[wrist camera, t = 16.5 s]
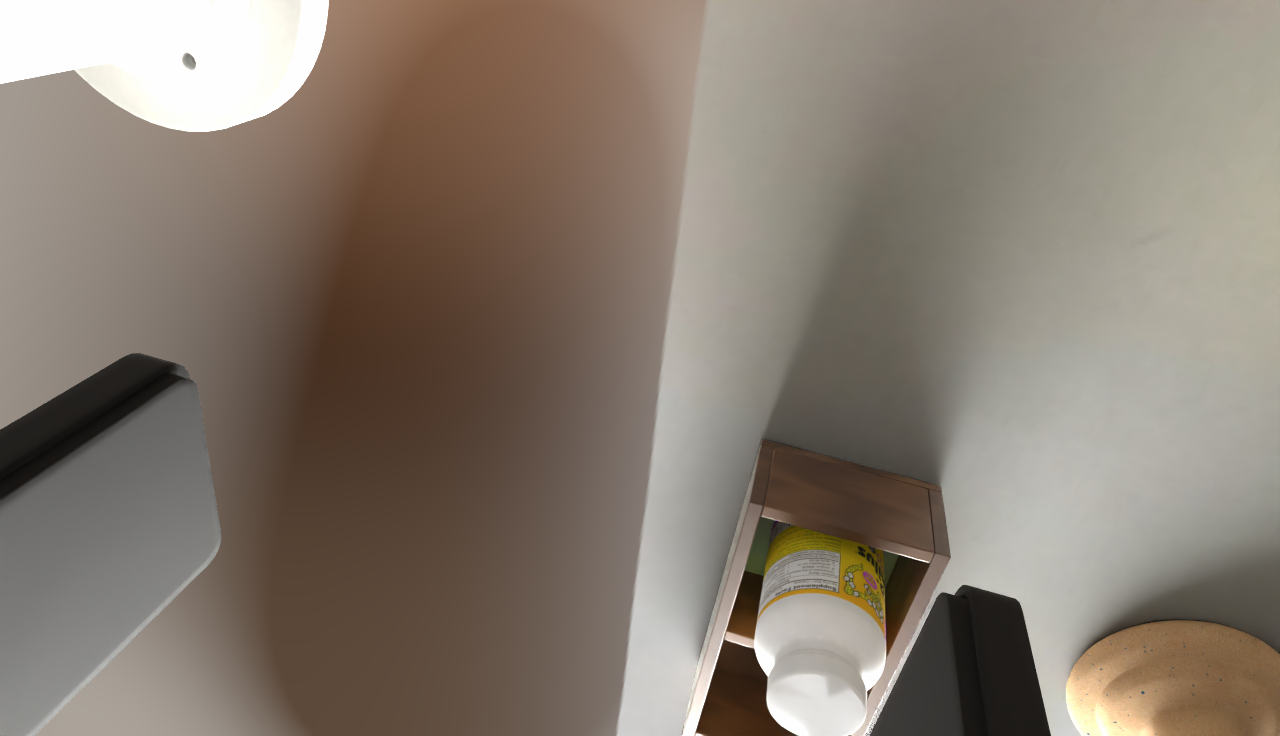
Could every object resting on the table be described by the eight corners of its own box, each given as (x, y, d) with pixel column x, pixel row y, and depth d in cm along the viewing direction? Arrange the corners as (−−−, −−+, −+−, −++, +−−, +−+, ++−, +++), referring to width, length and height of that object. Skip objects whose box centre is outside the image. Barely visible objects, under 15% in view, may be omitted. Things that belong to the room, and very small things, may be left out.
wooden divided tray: (697, 663, 58) (681, 735, 53) (761, 438, 48) (749, 501, 43) (842, 707, 57) (840, 786, 52) (941, 486, 46) (951, 557, 41)
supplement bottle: (888, 574, 49) (895, 760, 38) (780, 575, 51) (758, 752, 41) (876, 485, 47) (880, 659, 36) (763, 491, 49) (733, 656, 38)
